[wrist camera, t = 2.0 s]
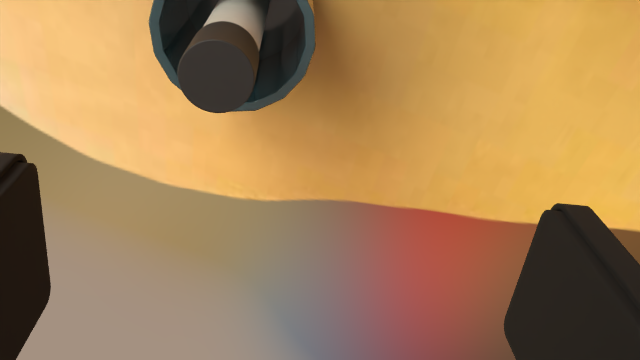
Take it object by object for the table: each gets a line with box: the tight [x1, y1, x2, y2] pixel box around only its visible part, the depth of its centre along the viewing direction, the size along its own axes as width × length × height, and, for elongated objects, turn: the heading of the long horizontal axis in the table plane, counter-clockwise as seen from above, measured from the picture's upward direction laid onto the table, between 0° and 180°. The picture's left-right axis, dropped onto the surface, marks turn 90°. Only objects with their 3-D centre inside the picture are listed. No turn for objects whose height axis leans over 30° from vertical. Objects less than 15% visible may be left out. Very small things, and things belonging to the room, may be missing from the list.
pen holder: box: [149, 0, 315, 112], centre depth 32 cm, size 8×8×8 cm
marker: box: [177, 0, 269, 113], centre depth 29 cm, size 3×3×14 cm
